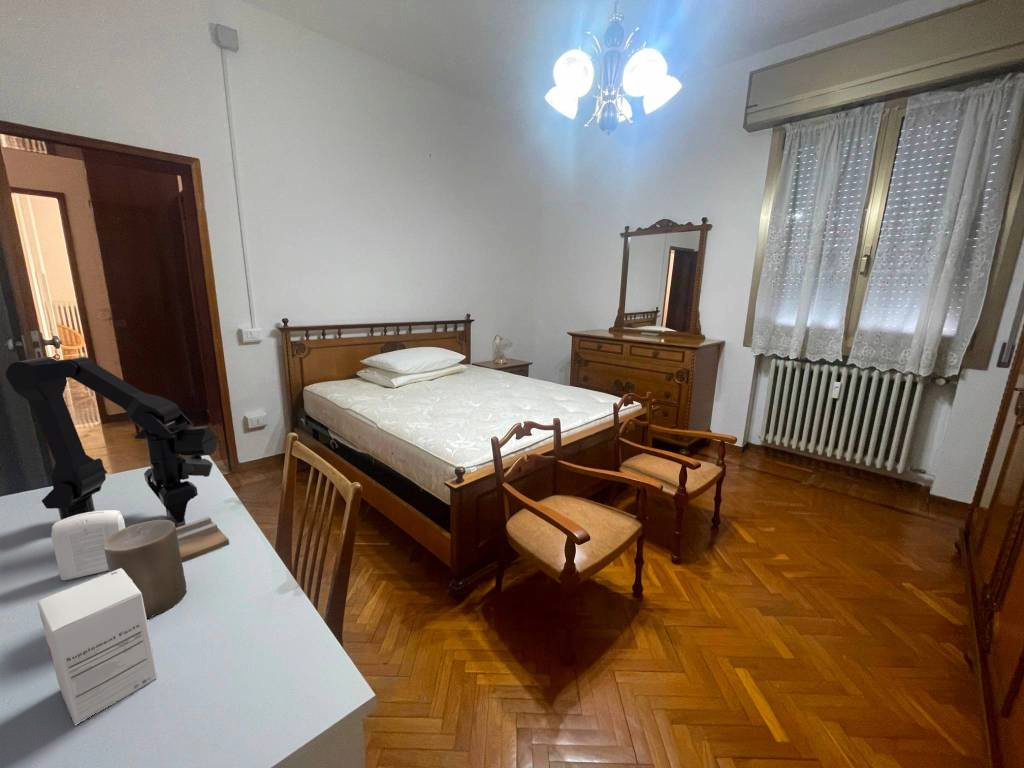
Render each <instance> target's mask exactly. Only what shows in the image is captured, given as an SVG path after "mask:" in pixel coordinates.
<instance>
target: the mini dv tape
mask: <svg viewBox="0 0 1024 768" xmlns="http://www.w3.org/2000/svg"><path fill="white" fill-rule="evenodd" d="M165 511H166V512H165V513H166V517H167V516H168V517H167V518H168V520H169V521H172V522H174V524H175V525H176V526H175V527H176V528H177V527H180V526H183V525H186V524H187V523H186V517H184V521H183V522H181V523H177V521H176V520H175V519H174V517H173V516H172V515H171V514H170V513H169V511H168V510H167V509H166V508H165Z"/></svg>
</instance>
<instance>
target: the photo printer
mask: <svg viewBox="0 0 1024 768" xmlns="http://www.w3.org/2000/svg"><path fill="white" fill-rule="evenodd" d="M124 528H126V524H125V519H124V517H123V515H122V512H121V511H120V510H115V509H114V510H113V509H112V510H111V509H108V510H107V509H106V510H95V511H93V512H87V513H82V514H78V515H74V516H71V517H68V518H65V519H63V520H61V519H59V520H58V521H56V522H54V524H53V525H51V533H50V536H51V539H52V540H51V541H52V544H53V550H54V555H55V559H56V563H57V564H56V565H57V567H58V568H57V569H58V572H59V576H60V577H59V578H60V579H61V580H62V581H69V580H75V579H78V578H82V577H86V576H90V575H93V574H94V575H95V574H98V573H103V572H107V571H108V565H107V560H106V556H105V551H104V549H103V544H104V542H105V541H106V540H107V538H109V537H110V536H112V535H113V534H115V533H117V532H119V531H120V530H122V529H124Z"/></svg>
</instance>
